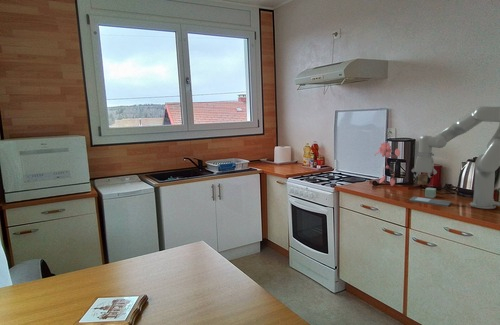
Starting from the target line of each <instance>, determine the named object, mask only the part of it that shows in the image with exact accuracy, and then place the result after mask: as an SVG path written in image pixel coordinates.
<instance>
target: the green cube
mask: <svg viewBox="0 0 500 325" xmlns="http://www.w3.org/2000/svg"><path fill="white" fill-rule="evenodd" d="M436 196H437V188H434V187H426V188H425V189H424V198H429V199H435V198H436Z"/></svg>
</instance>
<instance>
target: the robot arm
mask: <svg viewBox="0 0 500 325" xmlns="http://www.w3.org/2000/svg"><path fill="white" fill-rule="evenodd" d="M482 122H485V123H486V122H489V123H499V124H498V128H497V129H496V130H495V133H494V134H493V136H492V137H491V138H490V139H489V141H488V142H487V145H486V150H485V152H484V153H483V154H481V155H479V156H478V157H476V159H475V163H474V164H475V166H474V170H475V171H474V185H473V198H472V199H473V200H472V201H471V202H469V205H470V206H471V207H473V208H475V209H476V208H477V209H484V210H494V209H496V208H497V207H498V206H499V207H500V201H495V199H494V193H495V192H494V191H495V179H496V178H495V177H496V171H497V170H498V169H499V167H500V106H484V105H482V106H478V107H476V108H474V109H472V110H470V111H469V112H468V113H466V114H465V115H464V116H462V117H460V118H459V119H458V120H456V121H455V122H453V123H452V124H450V126H448V127H446V128H445V129H444V130H442V131H441V132H439V133H438V134H436V135H435V136H431V135H420V136H419V139H418V153H417V156H416V159H415V160H416V161H415V165H414V167H412V169H411V170H410V171H411V172H412V173H413V175H414V176H416V179H415V181H416V183H417V182H418V175H420V174H422V173H423V174H427V175H428V181H427V183H428V184H427V185H429V184H430V183H432V182H431V180H432V177H433V176H435V175H437V173H438V171H437V170H436V169H435V168H434V166H435V164H434V156H435V153H433V148H436V149H437V148H438V149H442V148H444V147H446V146H447V144H448V142H450V141H452V140H453V139H455V138H457V137H458V136H461V135H464V134H466V133H467V132H469V131H471V130H473V128H475V127H476V126H478V125H479V124H481V123H482Z"/></svg>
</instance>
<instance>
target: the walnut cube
mask: <svg viewBox="0 0 500 325" xmlns="http://www.w3.org/2000/svg"><path fill="white" fill-rule="evenodd" d="M427 181H428V174H424V173H423V174H422V173H420V174H419V175H418V182H417V181H416V183H417V185H425V186H427V185H429V184H428V183H427Z"/></svg>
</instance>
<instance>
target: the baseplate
mask: <svg viewBox="0 0 500 325" xmlns="http://www.w3.org/2000/svg"><path fill="white" fill-rule="evenodd" d="M408 202H413V203H418V202H420V203H419V204H426V205H433V206H441V207H447V208H448V207H449V206H450V205H451V204H452V200H451V201H450V200H443V199H436V198H430V197H418V196H412V197H411V198H409V200H408Z"/></svg>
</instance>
